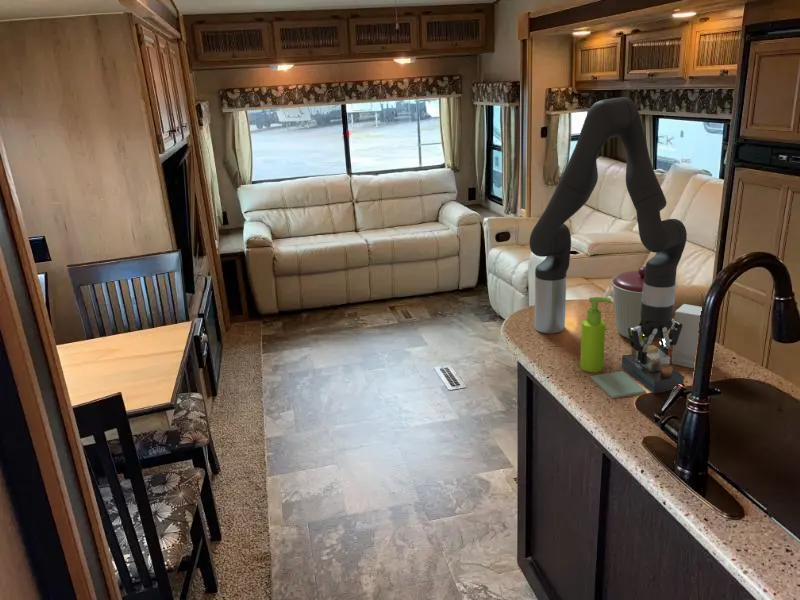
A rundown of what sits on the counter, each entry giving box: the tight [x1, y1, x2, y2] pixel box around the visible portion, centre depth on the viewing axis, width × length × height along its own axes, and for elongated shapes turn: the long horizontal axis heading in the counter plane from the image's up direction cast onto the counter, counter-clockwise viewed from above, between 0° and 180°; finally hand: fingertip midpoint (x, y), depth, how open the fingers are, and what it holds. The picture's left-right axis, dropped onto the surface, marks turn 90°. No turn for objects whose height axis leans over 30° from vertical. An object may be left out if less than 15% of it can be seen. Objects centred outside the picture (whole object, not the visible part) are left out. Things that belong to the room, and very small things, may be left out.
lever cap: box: [636, 344, 671, 372], centre depth 156 cm, size 7×5×4 cm
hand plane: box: [621, 338, 685, 395], centre depth 157 cm, size 15×8×8 cm, turn 11°
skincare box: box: [671, 303, 703, 369], centre depth 161 cm, size 8×7×16 cm
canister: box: [610, 266, 679, 341], centre depth 179 cm, size 18×18×21 cm
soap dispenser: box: [579, 296, 612, 373], centre depth 162 cm, size 6×7×20 cm
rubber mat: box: [590, 370, 647, 399], centre depth 156 cm, size 11×9×1 cm
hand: (652, 361), depth 157 cm, fingers closed on lever cap, 5 cm apart
